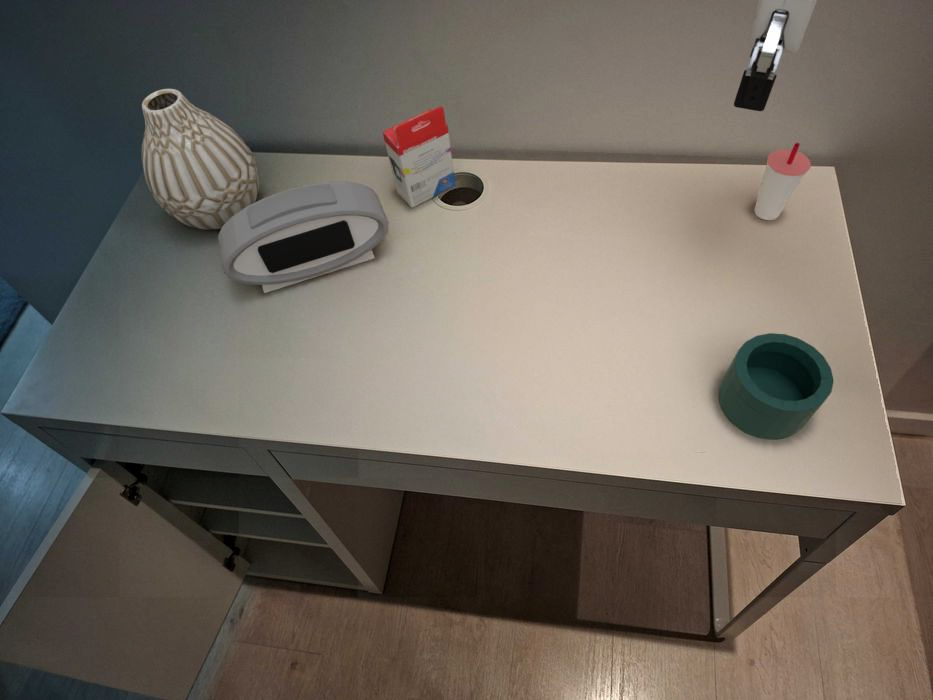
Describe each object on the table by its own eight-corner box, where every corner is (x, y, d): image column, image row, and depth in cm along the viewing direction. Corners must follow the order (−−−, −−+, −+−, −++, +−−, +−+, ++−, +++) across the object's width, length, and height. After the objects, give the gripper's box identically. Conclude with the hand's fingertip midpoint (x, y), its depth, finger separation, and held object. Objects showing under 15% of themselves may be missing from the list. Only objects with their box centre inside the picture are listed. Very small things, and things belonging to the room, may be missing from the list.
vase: (262, 166, 102) (211, 54, 86) (280, 226, 94) (227, 114, 77) (170, 195, 100) (99, 86, 84) (180, 259, 91) (103, 151, 75)
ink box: (440, 170, 98) (428, 88, 86) (456, 186, 95) (446, 104, 83) (395, 193, 96) (376, 112, 83) (411, 210, 93) (393, 129, 81)
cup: (765, 230, 85) (796, 161, 75) (739, 208, 87) (766, 138, 77) (794, 216, 86) (829, 146, 76) (768, 194, 88) (798, 124, 78)
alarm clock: (243, 304, 85) (203, 241, 75) (238, 274, 89) (198, 210, 78) (397, 255, 88) (379, 188, 77) (386, 228, 91) (368, 160, 81)
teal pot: (783, 359, 73) (805, 326, 67) (823, 430, 67) (851, 400, 62) (705, 374, 73) (720, 342, 67) (739, 447, 67) (759, 418, 61)
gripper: (853, -45, 48) (779, 135, 62) (871, -129, 56) (802, 47, 71) (755, -55, 50) (705, 121, 65) (787, -134, 59) (736, 38, 73)
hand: (756, 82), depth 68 cm, fingers open, 9 cm apart
